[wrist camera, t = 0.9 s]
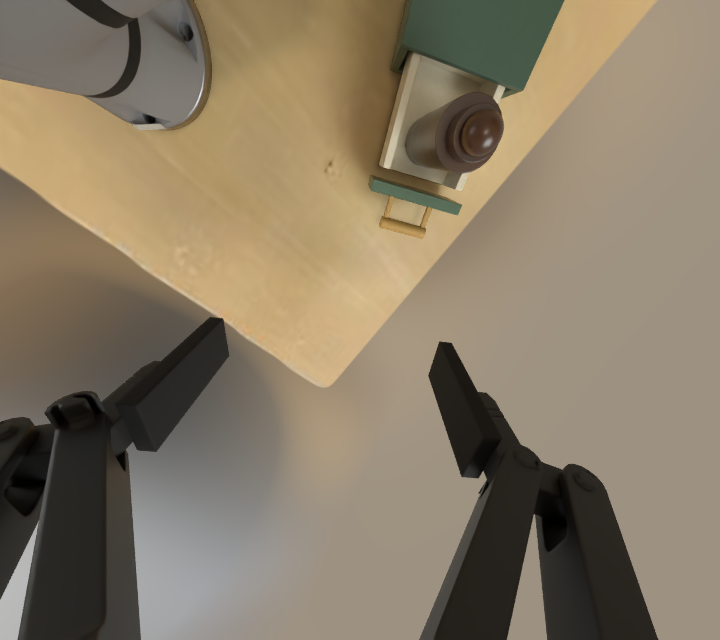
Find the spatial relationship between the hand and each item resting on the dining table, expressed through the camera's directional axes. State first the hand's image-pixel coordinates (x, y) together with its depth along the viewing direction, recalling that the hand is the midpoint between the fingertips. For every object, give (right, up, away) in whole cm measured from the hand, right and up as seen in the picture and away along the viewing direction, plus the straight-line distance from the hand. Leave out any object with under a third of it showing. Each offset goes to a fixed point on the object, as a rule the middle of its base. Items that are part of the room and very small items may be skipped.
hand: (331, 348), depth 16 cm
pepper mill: (+10, +23, +15) cm, 29 cm away
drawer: (+9, +23, +17) cm, 30 cm away
